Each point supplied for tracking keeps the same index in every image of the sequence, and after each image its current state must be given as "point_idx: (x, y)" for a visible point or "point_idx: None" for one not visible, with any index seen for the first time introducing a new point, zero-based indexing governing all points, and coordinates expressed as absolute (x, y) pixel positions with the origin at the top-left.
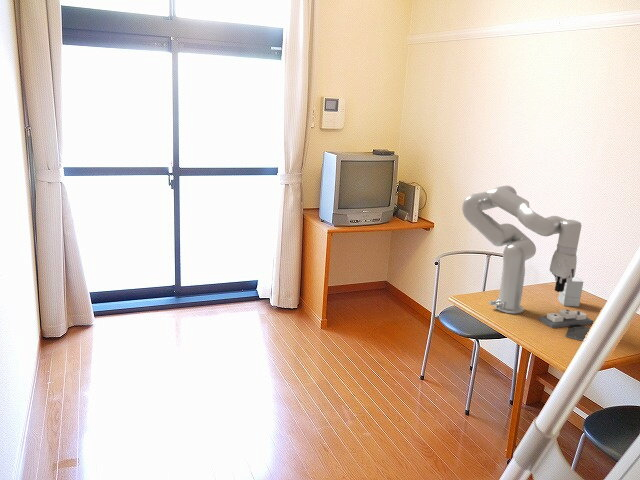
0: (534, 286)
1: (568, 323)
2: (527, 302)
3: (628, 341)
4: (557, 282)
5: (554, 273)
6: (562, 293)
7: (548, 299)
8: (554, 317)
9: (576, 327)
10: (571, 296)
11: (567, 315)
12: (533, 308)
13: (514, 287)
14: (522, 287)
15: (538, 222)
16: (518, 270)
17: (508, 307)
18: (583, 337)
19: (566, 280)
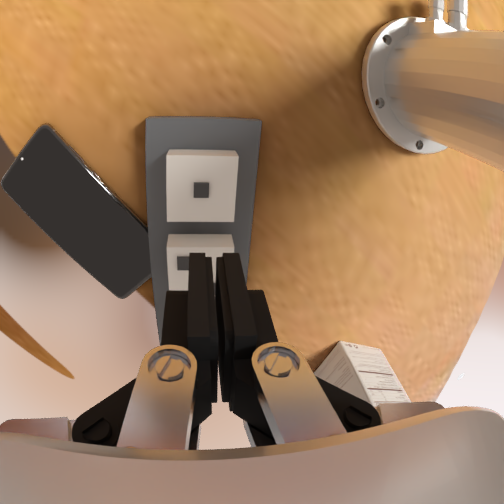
0: (467, 334)
1: (148, 226)
2: (427, 227)
3: (24, 337)
4: (234, 340)
5: (346, 453)
6: (375, 372)
7: (400, 322)
8: (173, 159)
9: (119, 243)
10: (339, 387)
11: (167, 249)
12: (379, 205)
13: (494, 51)
14: (483, 129)
15: None
16: None
17: (406, 40)
18: (18, 195)
19: (62, 434)
